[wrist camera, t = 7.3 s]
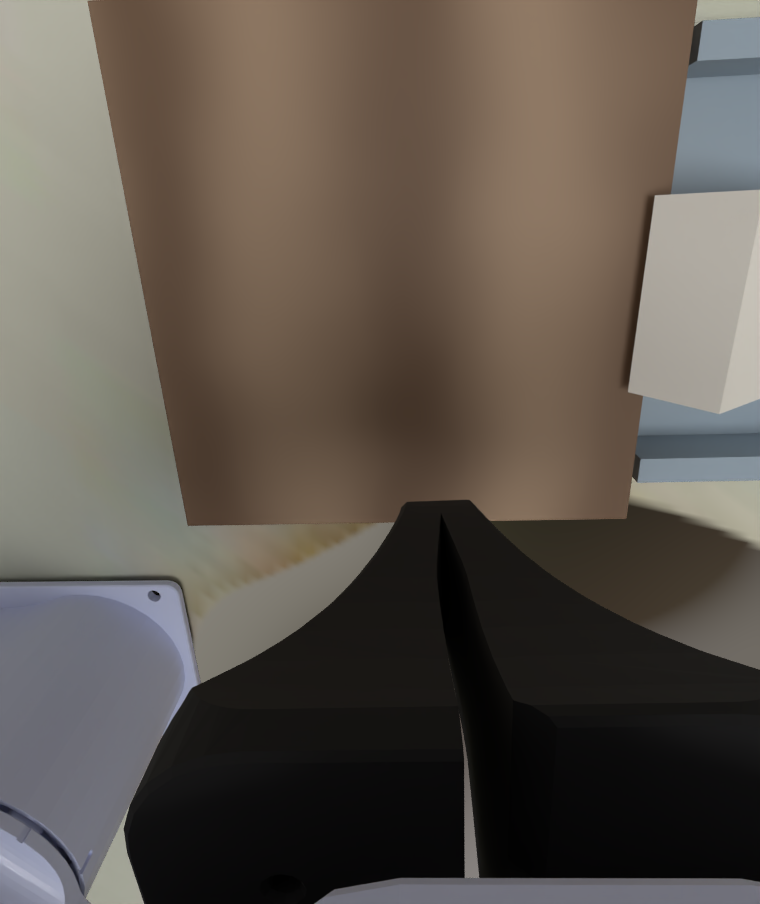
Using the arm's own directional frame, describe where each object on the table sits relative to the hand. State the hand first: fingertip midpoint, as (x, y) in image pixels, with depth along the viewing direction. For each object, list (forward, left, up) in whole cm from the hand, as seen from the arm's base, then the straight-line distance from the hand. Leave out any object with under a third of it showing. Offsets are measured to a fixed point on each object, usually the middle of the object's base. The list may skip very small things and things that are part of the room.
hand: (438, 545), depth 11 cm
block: (+8, +4, -7) cm, 11 cm away
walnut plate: (-1, +4, -9) cm, 10 cm away
